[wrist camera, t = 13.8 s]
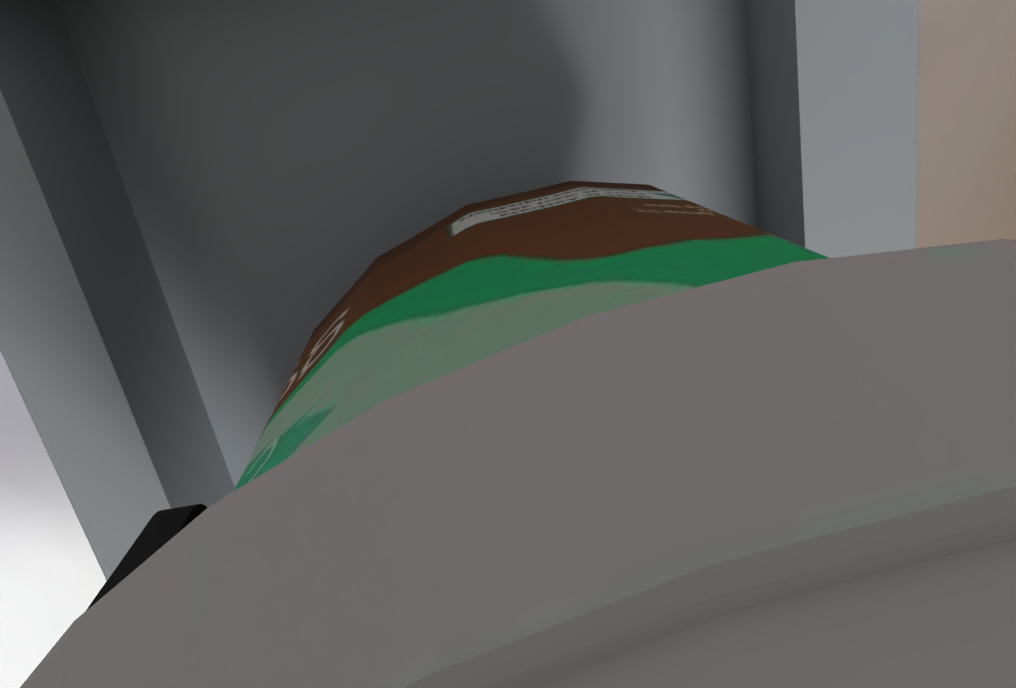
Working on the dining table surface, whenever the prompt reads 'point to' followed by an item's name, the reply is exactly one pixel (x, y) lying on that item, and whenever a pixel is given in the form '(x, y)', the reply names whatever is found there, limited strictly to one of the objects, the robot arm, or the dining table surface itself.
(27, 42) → the tray
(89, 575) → the dining table surface
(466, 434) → the food container
